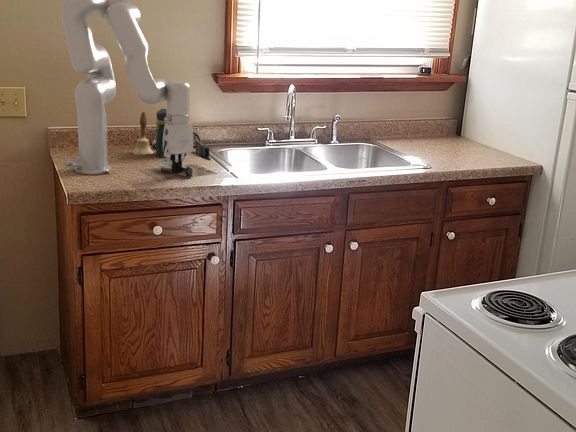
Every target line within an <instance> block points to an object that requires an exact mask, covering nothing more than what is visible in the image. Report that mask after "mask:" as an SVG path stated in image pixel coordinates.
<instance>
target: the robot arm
mask: <svg viewBox="0 0 576 432" xmlns="http://www.w3.org/2000/svg"><path fill="white" fill-rule="evenodd" d="M96 16H97V17H100V18H102V19H104V20H106V22H107V24H108V26H109V28H110V29H111V32H112V34H113V36H114V38H115V40H116V42H117V44H118V45H119V48H120V50H121V52H122V53H123V56H124V64H125V67H126V72H127V73H126V74H127V76H128V79H129V82H130V84H131V85H132V87H133V89H134V91H135V94H136V95H137V97H138V98H139V99H140V101H141V102H143V103H145V104H146V105H155V104H157V103H160V102H164V101H166V109H167V114H166V117H165V118H164V120H165V121H166V123H165V127H164V133H163V151H164V157H167V158H166V159H168V158H169V159H171V161H172V172H174V173H177V174H179V173H182V165H183V162H184V160H185V157H186V156H188V155H190V154H191V153H192V151H193V149H194V132H193V126H192V123H191V122H190V106H191V105H190V104H191V103H190V97H191V94H190V93H191V87H190V84H189V82H186V81H182V80H170V79H164V78H159V77H156V78H154V77H153V75H152V73H151V70H150V68H149V65H148V64H149V63H148V58H147V57H148V54H149V53H148V52H149V43H148V42H147V40H146V38H145V36H144V34H143V33H142V30H141V28H140V26H139V24H140V23H141V21H142V20H141V19H142V18H141V17H142V14H141V11H140V9H139V8H138V7H137V6H136V5H135V4H134V3H132V2H131V1H127V0H63V1H62V4H61V7H60V17H61V23H62V27H63V29H64V34H65V38H66V45H67V49H68V52H69V57H70V62H71V66H72V68H73V70H74V71H75V72H76V73H78V74H80V75H87V78H86V79H83V80H81V81H80V82H79V83H78V84H77V85H76V87H75V90H74V100H75V106H76V111H77V133H78V135H77V136H78V141H77V142H78V156H76V157H75V159H74V160H65V161H64V165H65V167H71V168H74V171H75V173H78V174H84V175H105V174H108V173H109V172H110V171H109V170H111V169H112V168H113V167H112V165H111V164H108V121H107V120H108V119H107V117H108V116H107V112H106V108H105V104H107V103H110V102H111V101H113V100H114V99H115V96H116V94H117V83H116V79H115V74H114V69H113V64H112V59H111V57H110V54H109V52H108V51H107V49H106V48H105V47H104V46H102V45H100V44H99V43H96V42H95V40H94V36H93V30H92V28H91V25H90V24H89V21H88V18H89V17H96ZM169 153H170V154H169Z"/></svg>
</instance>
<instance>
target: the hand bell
mask: <svg viewBox="0 0 576 432" xmlns="http://www.w3.org/2000/svg"><path fill="white" fill-rule="evenodd" d="M139 124H140V137H139V138H138V139H136V145H135V148H134V149H133V150H132V152H131V154H132V155H135V156H139V155H149V154H150V155H151V154H154V151H153V150H152V148H151V147H150V140H149V139H148V138H146V129H147V128H146V127H147V124H148V118H147V115H146V112H144V111H143V112H141V114H140V118H139Z"/></svg>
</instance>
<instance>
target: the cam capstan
mask: <svg viewBox="0 0 576 432" xmlns="http://www.w3.org/2000/svg"><path fill="white" fill-rule="evenodd" d="M183 165H184V164H182V173H181V174H184V175H186V176H187V178H193V177H192V176H193V167H186V166H183ZM160 168H161V171H164V172H172V161H171V159H170V158H169V159H168V158H167V159H162V160H160Z"/></svg>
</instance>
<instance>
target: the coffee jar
mask: <svg viewBox="0 0 576 432" xmlns="http://www.w3.org/2000/svg"><path fill="white" fill-rule="evenodd" d="M166 114H167V108H161V109H159V110H157V112H156V125H155V126H156V131H155V132H156V134H155V135H156V136H155V137H156V139H155V141H156V143H155V155H156V157H158V158H161V159H163V158H164V159H168V158H167V157H164V151H163V133H164V127H165V123H166V121H165V120H164V118H165V117H166ZM169 154H170V153H169Z"/></svg>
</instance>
